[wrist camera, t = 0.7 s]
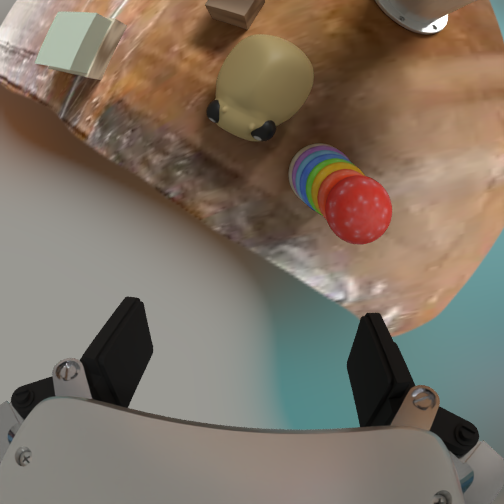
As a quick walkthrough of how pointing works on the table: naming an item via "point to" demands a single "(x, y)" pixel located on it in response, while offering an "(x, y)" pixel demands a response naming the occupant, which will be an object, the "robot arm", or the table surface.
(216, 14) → the walnut cube
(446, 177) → the table surface
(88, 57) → the top block
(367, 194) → the stacking toy
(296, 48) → the toy frog
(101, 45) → the base block
